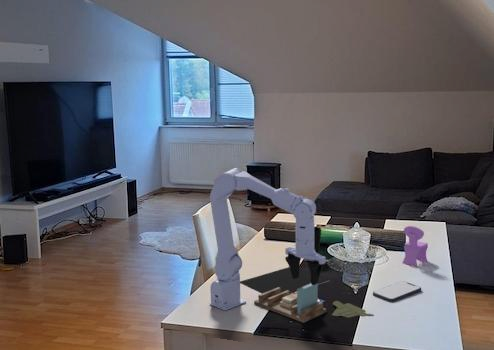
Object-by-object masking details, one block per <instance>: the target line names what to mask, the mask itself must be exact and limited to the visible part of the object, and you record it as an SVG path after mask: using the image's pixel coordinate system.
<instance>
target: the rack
mask: <svg viewBox="0 0 494 350" xmlns="http://www.w3.org/2000/svg"><path fill="white" fill-rule="evenodd" d="M288 295H290V291H288V290H287V291H284V292H282V293H281V288H279V287H278V288H275V289H273V290H270V291H268V292H265V293H263V294H262V293H260V294H258V299H256V300H254V302H253V303H254V305H256V306H259V307H261V308H265V309H267V310H268V311H269V310H270V311H272V312H275V313H277V314H280V315H282V316H285V317H287V318H291V319H293V320H295V321H298V322H301V323H302V324H305V323H306V322H308V321H311V320H313V319H315V318H317V317H320V315H323V314H326V313H327V312H328V311H327V308H325V307H324V302H322V301H318V303H316V304H314V305H312V306H310V307H308V308H305V309H303V310H301V315H299V314H297V304H296V305H294V306H292V307H291V309H288V308H285V307H283V306H280V302H281V301H282V298H283V297H285V296H288Z"/></svg>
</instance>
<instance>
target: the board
mask: <svg viewBox="0 0 494 350" xmlns="http://www.w3.org/2000/svg"><path fill="white" fill-rule="evenodd" d="M318 288H319V285H318V283H317V284H315V285H312V284H308V285H306V286H303V287H301V288H299V289H297V292H296V293H297V294H296V295H297V314H299V315H301V310H303V309H305V308H308V307H310V306H312V305H314V304H316V303H319V301H318V298H319V297H318V296H319V295H318V293H319V292H318V290H319V289H318Z"/></svg>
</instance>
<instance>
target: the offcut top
mask: <svg viewBox="0 0 494 350" xmlns="http://www.w3.org/2000/svg"><path fill="white" fill-rule="evenodd" d="M282 302H285V303H288V304H293V303H295V302H297V294H295V293H291V294H290V295H288V296H285V297H283V298H282Z"/></svg>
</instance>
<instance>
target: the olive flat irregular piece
mask: <svg viewBox="0 0 494 350" xmlns="http://www.w3.org/2000/svg"><path fill="white" fill-rule="evenodd" d="M332 305H333V306H335V307H336V309H335V310H334V311H333V313H331V316H333V317H334V316H335V317H340V316H341V317H345V318H347V319H349V318H353V317H356V316H360V317H362V318H363V317H364V318H365V317H374V316H375V314H373V313H372V314H371V313H367V312H365V311H366V309H363V308H360V307H359V306H356V305H354V304H351V303H343V302H341V301H339V300H335V301H333V303H332Z"/></svg>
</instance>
